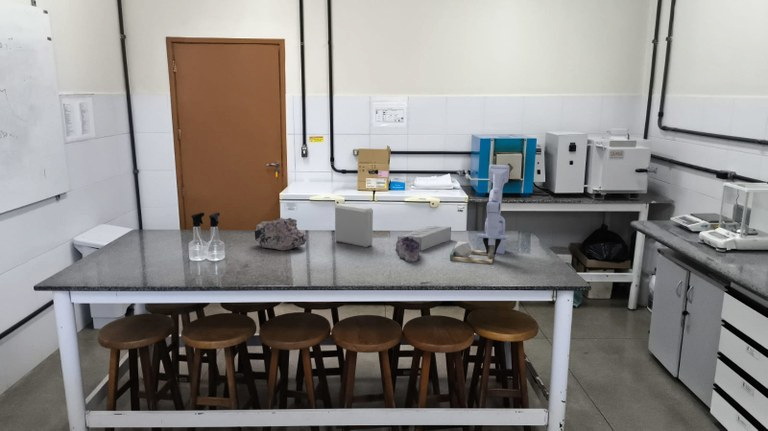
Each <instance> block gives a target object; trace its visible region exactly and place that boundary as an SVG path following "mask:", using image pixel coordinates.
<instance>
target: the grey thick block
mask: <svg viewBox="0 0 768 431" xmlns="http://www.w3.org/2000/svg"><path fill="white" fill-rule="evenodd" d="M373 212H374V210H373V209H372V207H368V206H367V207H366V206H360V205H353V204H347V203H338V204H336V205H335V206H334V217H335V218H334V228H335V229H334V240H335V241H336V242H337V243H341V242H342V243H341V244H346V243H347V244H348V245H351V244H352V246H356V245H358V247H361V246H363V247H362V248H368V246H369V247H371V246H372V245H373V235H374V234H373V228H374V227H373V225H374V224H373V223H374V221H373V219H374V215H373V214H374V213H373ZM347 244H346V245H347Z"/></svg>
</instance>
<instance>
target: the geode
mask: <svg viewBox="0 0 768 431" xmlns="http://www.w3.org/2000/svg"><path fill="white" fill-rule="evenodd" d="M419 245H420V243H419V242H418V241H415V240H413V239H412V238H409V237H405V238H403V239H398V238H397V241H396V243H395V249H394V250H395V252H396V253H397V254H398V257H399V258H400V259H404V262H407V263H416V262H418V261H420V251H419Z"/></svg>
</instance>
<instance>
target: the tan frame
mask: <svg viewBox="0 0 768 431" xmlns="http://www.w3.org/2000/svg"><path fill="white" fill-rule="evenodd" d="M455 246H456V245H454V246H453V248H452V250H451V252H450V254H449V261H453V262H463V263H465V262H466V263H473V264H474V263H477V264H488V265H492V264H493V260H494V258H495V255H494V249H495V245H488V254H486V251H485V250H478V249H476V250H475V249H471V251H472V252H471V254H470V255H479V256H481V255H482V256H487V258H488V259H487V258H476V257H475V258H474V257H468V258H465V257H456V255H455V252H454V247H455Z"/></svg>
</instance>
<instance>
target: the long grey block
mask: <svg viewBox="0 0 768 431" xmlns="http://www.w3.org/2000/svg"><path fill="white" fill-rule="evenodd" d="M405 237H409V238H412V239H413V240H415V241H418V242H419V243H420V245H419V252H422V251H423V250H427V249H429V248H431V247H435V246H437V245H439V244H441V243H445V241H446V242H448V241H450V240H451V238H452V227H451V226H436V225H434V226H432V225H431V226H425V227H422V228H419V229H416V230H414V231H413V230H412V231H411V232H407V233H404V234H401V235H399V236H397V240H398V239H403V238H405Z"/></svg>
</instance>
